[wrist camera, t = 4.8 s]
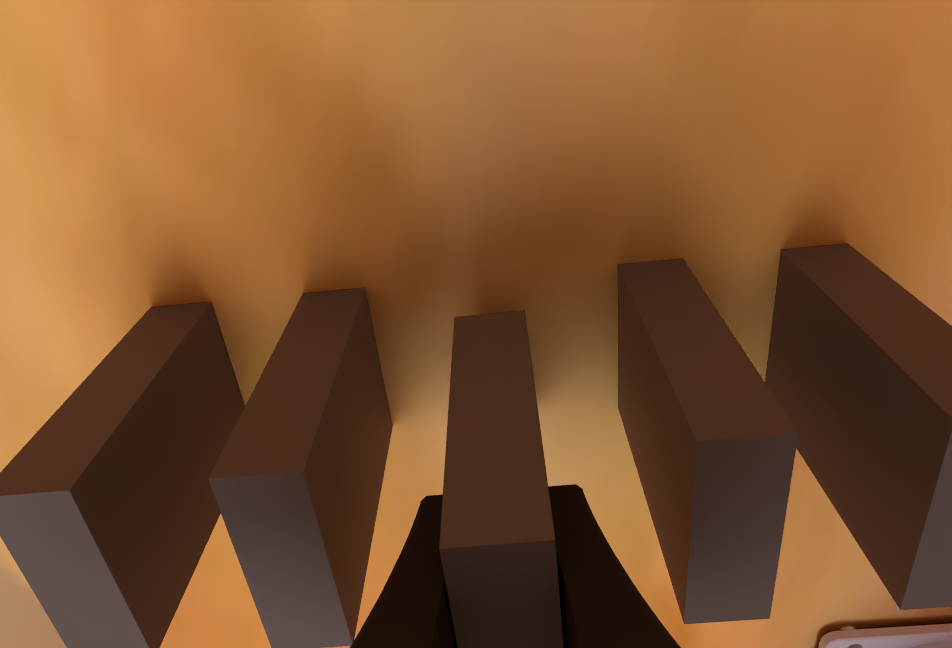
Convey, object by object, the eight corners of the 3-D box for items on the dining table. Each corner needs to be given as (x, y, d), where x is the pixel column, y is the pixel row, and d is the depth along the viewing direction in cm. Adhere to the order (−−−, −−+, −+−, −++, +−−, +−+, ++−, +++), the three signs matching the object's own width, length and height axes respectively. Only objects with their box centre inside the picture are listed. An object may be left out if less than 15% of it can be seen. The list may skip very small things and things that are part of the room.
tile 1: (847, 243, 17) (1060, 412, 11) (822, 391, 19) (988, 604, 13) (781, 249, 17) (954, 420, 11) (763, 396, 19) (900, 609, 13)
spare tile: (524, 310, 16) (554, 540, 9) (537, 462, 18) (570, 733, 11) (454, 317, 16) (439, 549, 9) (475, 467, 18) (474, 739, 12)
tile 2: (683, 258, 17) (798, 433, 11) (676, 403, 19) (769, 618, 13) (617, 264, 17) (696, 441, 11) (618, 408, 19) (683, 624, 13)
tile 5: (211, 301, 18) (69, 490, 11) (255, 437, 20) (154, 658, 14) (150, 307, 18) (-23, 497, 12) (200, 442, 20) (76, 663, 14)
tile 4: (365, 287, 17) (303, 471, 11) (392, 426, 20) (352, 645, 13) (302, 293, 17) (208, 479, 11) (337, 431, 20) (272, 650, 13)
